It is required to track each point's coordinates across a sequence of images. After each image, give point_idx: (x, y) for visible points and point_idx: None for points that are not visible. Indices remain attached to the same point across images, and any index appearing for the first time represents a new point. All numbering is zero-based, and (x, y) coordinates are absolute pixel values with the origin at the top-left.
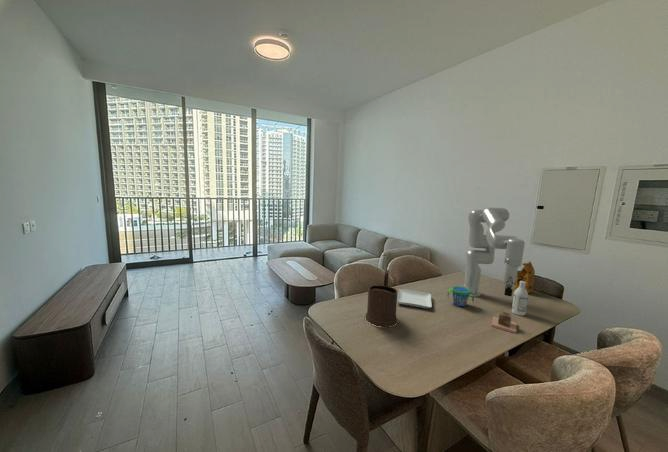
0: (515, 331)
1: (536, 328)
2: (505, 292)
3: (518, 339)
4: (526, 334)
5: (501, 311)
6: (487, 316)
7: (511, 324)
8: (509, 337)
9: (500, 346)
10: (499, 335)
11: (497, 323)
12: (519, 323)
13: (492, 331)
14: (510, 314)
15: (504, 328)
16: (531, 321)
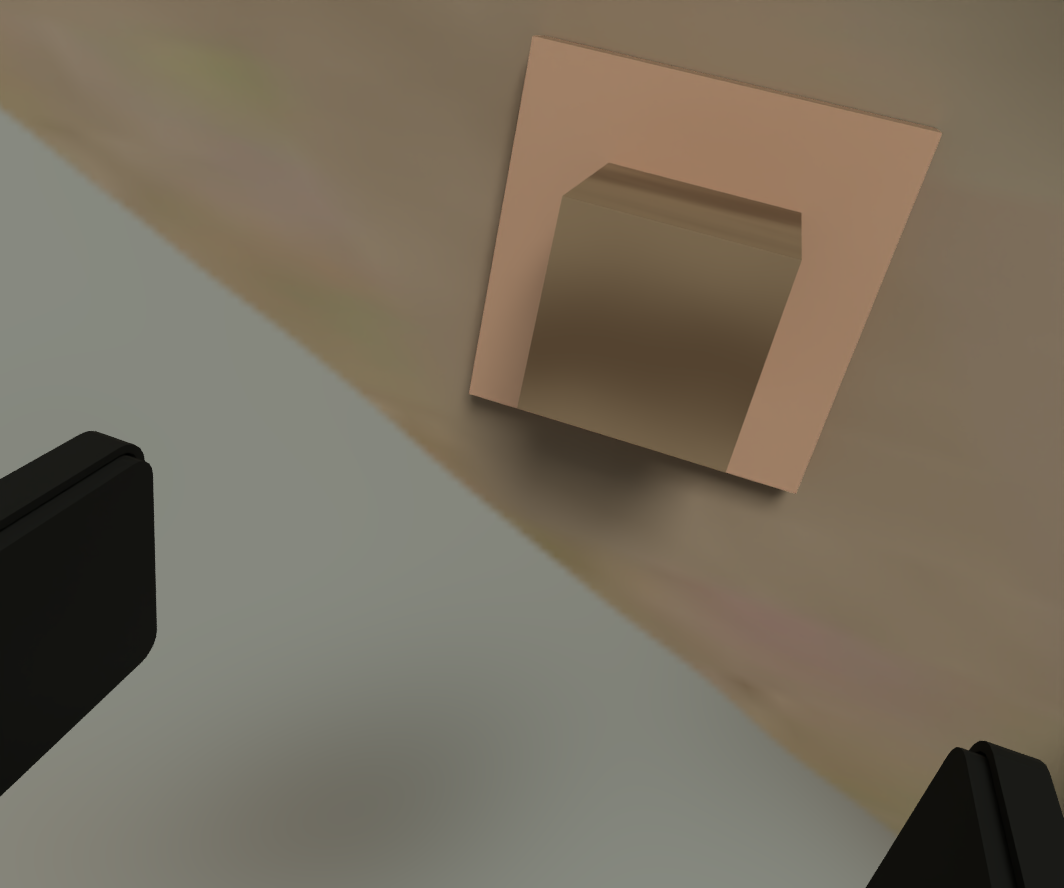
0: (473, 382)
1: (773, 699)
2: (8, 511)
3: (326, 361)
4: (523, 508)
5: (763, 288)
6: (1009, 17)
7: None
8: (316, 256)
9: (11, 73)
10: (296, 120)
11: (620, 157)
12: (865, 541)
13: (367, 25)
14: (669, 436)
15: (497, 242)
16: (1010, 735)
